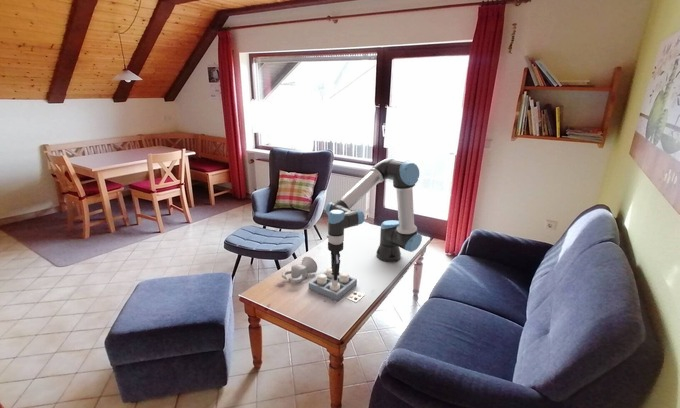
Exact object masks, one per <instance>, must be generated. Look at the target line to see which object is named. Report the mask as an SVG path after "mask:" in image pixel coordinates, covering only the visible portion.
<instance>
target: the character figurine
mask: <svg viewBox="0 0 680 408" xmlns="http://www.w3.org/2000/svg"><path fill="white" fill-rule="evenodd" d="M317 271H318V265H317V262H316V261H315V260H314V258H312V257H310V256H304V257H303V258H302V260H301V264H298V263H296V264H293V265H291V270H283V272H282V273H281V277H282V278H283V279H284V280H286V281H287V279H288V281H289V282H292V283H299V282H303V281H304V280H306V279H307V277H308V274H315V273H317ZM290 274H291V278H287V275H290Z"/></svg>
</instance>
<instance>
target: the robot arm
mask: <svg viewBox="0 0 680 408" xmlns="http://www.w3.org/2000/svg"><path fill="white" fill-rule="evenodd" d="M419 178H420V168H419V167H418V165H417V164H416V163H414V162H411V161H410V160H403V159H399V158H394V157H388V158H385V159H383V160H381V161H379V162H378V163H376V164H375V165H373V166H372V167H371V168H370V169H369V172H368V173H367V174H366V175H365V176H363V178H362V179H360V180H359V181H358V182H356V184H355V185H353V186H352V188H350V189H349V190H348V191H347V192H346V193H345V194H343V195H342V197H340V198H339V199H338V200H337V201H336V202H334V201H331V202H328V203H327V205H326V206H325V213H326V215H327V217H328V218H327V229H328V230H327V234H328V235H326V238H327V250H328V251H329V252H330V256H331V257H330V259H331V263H330V264H331V267H330V268H331V269H332V272H333V273H331V274H332V286H333V285H338V275H339V273H340V264H341V259H340V258H341V253H340V252H342V251H343V250H344V238H345V237H344V236H345V229H348V228H353V227H356V226H359V225H362V224H363V223H364V222H365V214H364V212H363V210H361V209H352V208H353V206H355V205H356V204H357V203H359V201H360V200H362V199H363V198H364V196H366V195H367V194H368V193H369V192H370V191H371V190H372V189H374V187H376V186H377V185H378V184H379V183H383V182H384V181H385V180H391V181H392V186H393V188H395V190H396V201H397V203H396V204H397V217H398V220H396V219H395V220H393V219H391V220H384V221H383V222H382V223H381V224H380V238H379V245H378V248H377V249H376V257H377V259H379V260H380V261H384V262H390V263H391V262H397V261H399V260H400V259H401V256H402V254H401V253H402V252H401V249H402V250H404V251H407V252H410V253H412V252H414V251H416V250H417V249H418V248H419V247H420V246H421V243H422V241H423V236H422V234H420V233H418V227H417V225H416V224H415V216H414V215H415V214H414V211H415V210H414V197H413V196H414V193H413V188H414V187H415V186H416V184H417V183H418V181H419ZM400 248H401V249H400Z"/></svg>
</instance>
